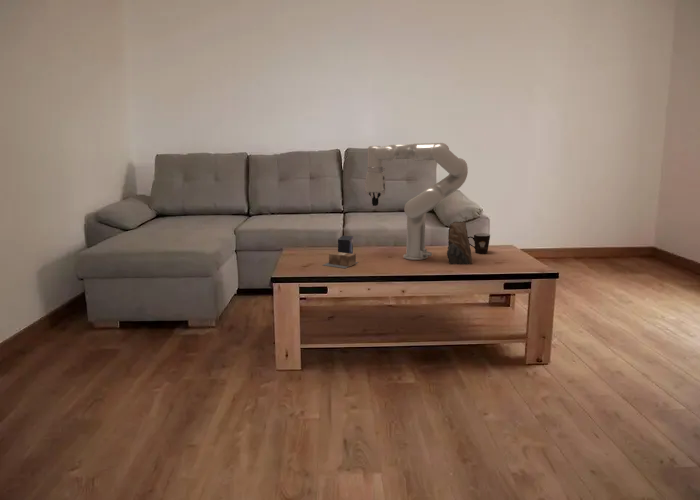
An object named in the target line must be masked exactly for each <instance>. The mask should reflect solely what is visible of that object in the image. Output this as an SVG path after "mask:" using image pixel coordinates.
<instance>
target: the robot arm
mask: <svg viewBox="0 0 700 500" xmlns="http://www.w3.org/2000/svg"><path fill="white" fill-rule="evenodd" d="M393 160H412V161H417V162H418V161H421V162H423V161H435V162H436V163H437V165H439V166H440V167H441V168H442V169H443V170H445V171H446V172H447V173H448V175H447V176H445V177H444V178H443V179H441V180H439V182H436V183H434V184H433V185H431V186H428V187H427V188H426V189H425V190H423V191H422V192H421V193H418V195H416V196H415V197H412V198H410V199H409V200H408V201H406V203H405V204H404V208H403V209H404V214H405V215H406V216H407V218H406V248H405V249H406V252H405V253H404V254H403V258H404V259H405V260H411V261H412V260H413V261H420V260H426V259H427V258H428V257H432V255H433V253H432V251H427V248H426V221H427V220H426V218H427V213H428V212H429V211H431V210H433V209H434V208H436V207H437V206H439V205H440V203H441V202H442V201H443V200H444V199H446V198H447V197H449V196H450V195H451V194H453V193H454V192H456V191H457V190H459V189H461V187H462V186H463V185H464V183H465V182H466V180H467V178H468V171H469V170H468V169H469V167H468V164H467V161H466V160H464V159H463V158H461V157H458V156H457V155H455V154H454V153H453V152H452V151H451V150H450V148H449V146H448V145H447V143H443V142H430V143H428V142H427V143H426V142H425V143H411V144H390V145H385V146H384V145H383V146H381V145H370V146H368V148H367V172H366V176H365V181H364V182H365V184H364V185H365V187H364V190H365V194H366V195H369V196H370V198H371V204H372V207H377V206H378V205H379V198H380V197H381V196H384V195H385V194H386V190H387V183H386V177H385V171H386V168H384V166H383V161H388V162H389V161H390V162H391V161H393Z"/></svg>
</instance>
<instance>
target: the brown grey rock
mask: <svg viewBox="0 0 700 500" xmlns="http://www.w3.org/2000/svg"><path fill="white" fill-rule="evenodd" d="M468 235H469V233H468V229H467V225H466V222H465V221H464V220H463V221H453V222H452V223H450V226H449V229H448V235H447V236H448V239H447V240H448V242H447V243H448V246H447V251H446V256H447V260H448V261H447V262H448V264H449V265H473V258H472V257H473V256H472V249H471V245H470V244H471V243H470V241H469V238H468V237H469V236H468Z"/></svg>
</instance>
